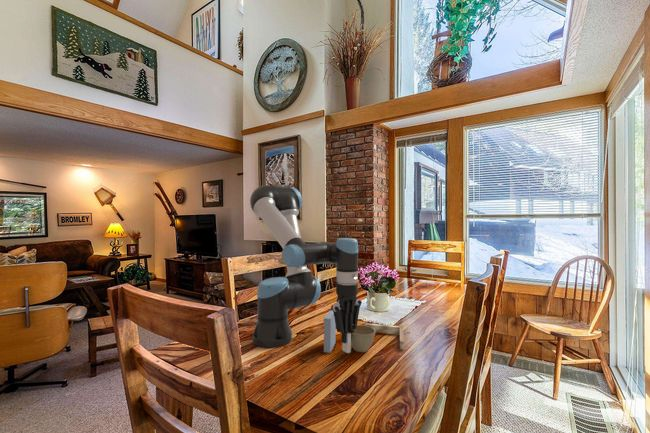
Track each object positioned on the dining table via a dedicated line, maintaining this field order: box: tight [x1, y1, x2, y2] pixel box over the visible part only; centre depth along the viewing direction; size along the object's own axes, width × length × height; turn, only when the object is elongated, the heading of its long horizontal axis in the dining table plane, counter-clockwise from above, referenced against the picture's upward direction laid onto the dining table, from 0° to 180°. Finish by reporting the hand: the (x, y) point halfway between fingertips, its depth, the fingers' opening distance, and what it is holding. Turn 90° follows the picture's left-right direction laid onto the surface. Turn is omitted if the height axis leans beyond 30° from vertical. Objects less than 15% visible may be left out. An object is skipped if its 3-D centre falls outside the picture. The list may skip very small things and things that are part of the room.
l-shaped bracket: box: [364, 322, 405, 351], centre depth 117 cm, size 16×16×3 cm
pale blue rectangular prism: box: [323, 310, 337, 354], centre depth 109 cm, size 2×9×12 cm, turn 166°
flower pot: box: [351, 324, 376, 353], centre depth 107 cm, size 10×10×7 cm
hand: (346, 351), depth 102 cm, fingers closed
